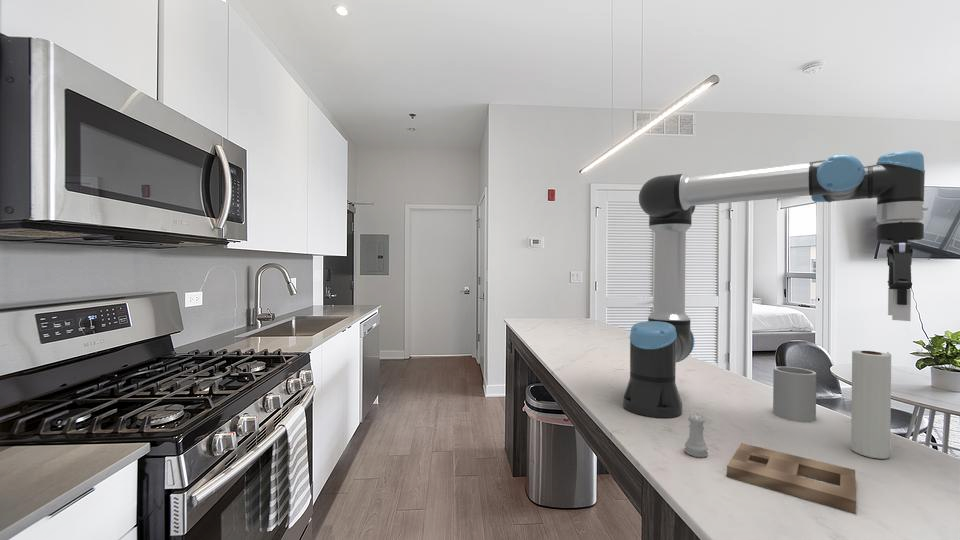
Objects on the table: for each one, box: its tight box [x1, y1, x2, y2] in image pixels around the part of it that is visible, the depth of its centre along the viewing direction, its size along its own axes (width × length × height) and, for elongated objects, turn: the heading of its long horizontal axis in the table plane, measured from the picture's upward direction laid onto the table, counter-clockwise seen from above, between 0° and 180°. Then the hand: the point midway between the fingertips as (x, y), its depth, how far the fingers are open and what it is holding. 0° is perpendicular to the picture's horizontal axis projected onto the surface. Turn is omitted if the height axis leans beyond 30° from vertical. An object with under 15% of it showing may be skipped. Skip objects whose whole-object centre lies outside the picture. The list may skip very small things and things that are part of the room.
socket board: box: [726, 442, 857, 514], centre depth 79 cm, size 18×14×2 cm
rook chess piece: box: [684, 412, 709, 459], centre depth 89 cm, size 4×4×8 cm
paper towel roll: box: [850, 350, 892, 460], centre depth 90 cm, size 7×6×21 cm
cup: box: [772, 366, 817, 423], centre depth 113 cm, size 9×9×12 cm
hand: (898, 318), depth 96 cm, fingers open, 13 cm apart
